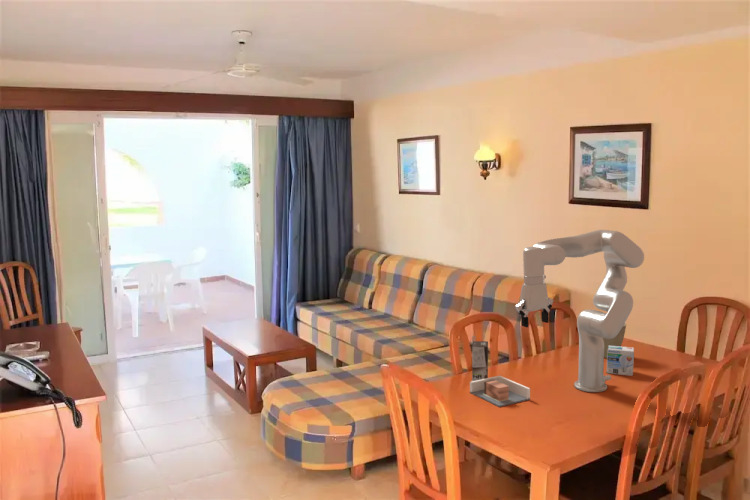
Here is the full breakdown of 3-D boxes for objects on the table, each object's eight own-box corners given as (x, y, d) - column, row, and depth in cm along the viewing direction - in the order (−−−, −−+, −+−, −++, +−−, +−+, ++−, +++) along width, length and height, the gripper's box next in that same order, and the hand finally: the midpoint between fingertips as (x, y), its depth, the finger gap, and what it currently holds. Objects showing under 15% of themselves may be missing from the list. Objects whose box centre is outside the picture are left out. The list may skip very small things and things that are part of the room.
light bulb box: (606, 373, 276) (607, 349, 274) (607, 368, 282) (607, 344, 281) (633, 376, 272) (634, 351, 270) (633, 371, 278) (634, 347, 277)
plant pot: (588, 351, 308) (589, 318, 306) (620, 352, 306) (621, 319, 304) (594, 360, 294) (595, 326, 292) (628, 361, 292) (629, 327, 290)
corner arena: (499, 386, 262) (499, 375, 262) (529, 399, 247) (530, 388, 246) (469, 392, 255) (469, 381, 255) (499, 407, 240) (499, 395, 239)
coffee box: (487, 385, 264) (487, 346, 262) (471, 384, 265) (471, 346, 263) (488, 378, 273) (488, 340, 271) (472, 377, 274) (472, 340, 272)
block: (508, 398, 246) (508, 386, 245) (499, 400, 244) (499, 388, 243) (493, 391, 254) (493, 379, 253) (484, 393, 252) (484, 381, 251)
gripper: (545, 275, 248) (546, 318, 250) (509, 281, 240) (510, 326, 243) (558, 278, 241) (559, 322, 244) (522, 284, 234) (523, 330, 236)
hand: (535, 324), depth 243 cm, fingers open, 9 cm apart
